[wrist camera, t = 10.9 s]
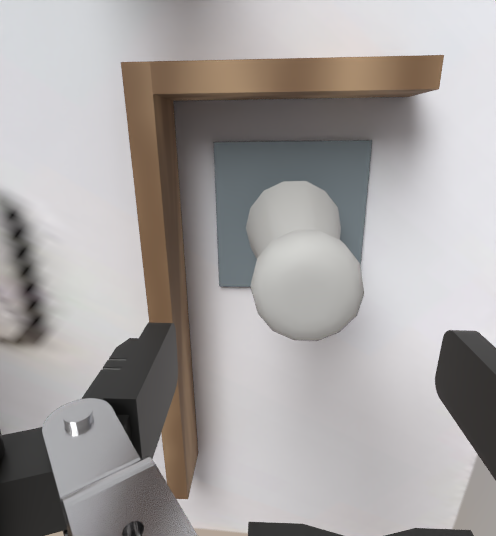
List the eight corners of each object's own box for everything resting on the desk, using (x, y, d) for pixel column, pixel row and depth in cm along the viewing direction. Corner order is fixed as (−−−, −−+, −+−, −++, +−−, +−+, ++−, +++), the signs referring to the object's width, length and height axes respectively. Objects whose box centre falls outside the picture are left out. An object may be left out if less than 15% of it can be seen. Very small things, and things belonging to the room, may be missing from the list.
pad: (219, 284, 28) (219, 286, 28) (214, 142, 25) (213, 142, 24) (357, 286, 28) (358, 287, 27) (370, 140, 24) (372, 140, 24)
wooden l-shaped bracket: (181, 452, 34) (168, 498, 29) (147, 74, 24) (120, 62, 19) (365, 458, 33) (379, 506, 29) (411, 69, 23) (443, 55, 19)
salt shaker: (286, 157, 25) (302, 182, 12) (352, 212, 26) (428, 286, 13) (231, 226, 26) (198, 309, 14) (295, 275, 27) (316, 393, 15)
